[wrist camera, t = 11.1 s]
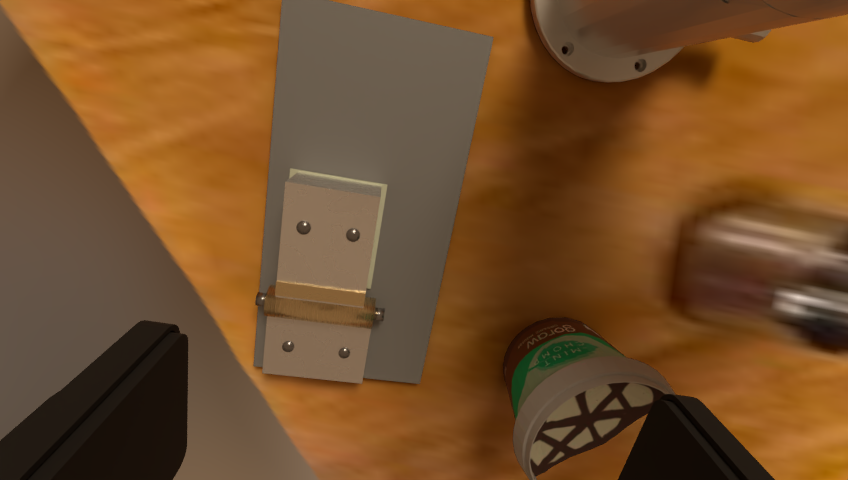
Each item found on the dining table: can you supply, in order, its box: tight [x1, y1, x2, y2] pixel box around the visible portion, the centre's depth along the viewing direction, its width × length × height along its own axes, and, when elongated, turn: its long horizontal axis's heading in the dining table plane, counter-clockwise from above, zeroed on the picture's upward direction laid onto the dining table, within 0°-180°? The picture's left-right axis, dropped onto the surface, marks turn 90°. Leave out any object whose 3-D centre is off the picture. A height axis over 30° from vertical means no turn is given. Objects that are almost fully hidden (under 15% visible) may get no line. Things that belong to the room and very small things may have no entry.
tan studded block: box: [275, 172, 381, 308], centre depth 30 cm, size 6×8×4 cm
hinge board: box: [254, 0, 493, 384], centre depth 32 cm, size 14×28×1 cm, turn 170°
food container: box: [503, 318, 675, 480], centre depth 33 cm, size 12×6×10 cm, turn 123°
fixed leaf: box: [256, 284, 385, 384], centre depth 33 cm, size 10×8×2 cm
